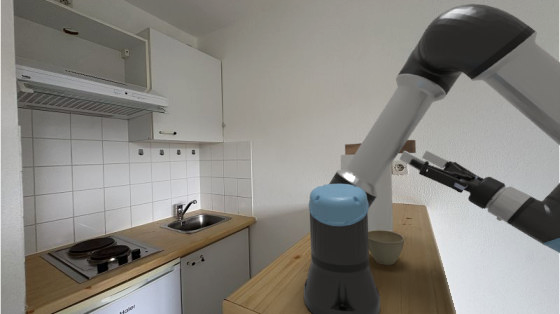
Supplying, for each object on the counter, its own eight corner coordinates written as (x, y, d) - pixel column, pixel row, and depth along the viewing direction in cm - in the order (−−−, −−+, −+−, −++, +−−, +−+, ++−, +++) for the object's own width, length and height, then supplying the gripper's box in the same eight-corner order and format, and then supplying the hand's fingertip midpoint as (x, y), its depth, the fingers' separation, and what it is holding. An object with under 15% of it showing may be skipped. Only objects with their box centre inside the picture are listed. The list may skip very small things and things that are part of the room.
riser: (376, 245, 74) (374, 154, 74) (342, 233, 85) (340, 154, 85) (393, 238, 80) (390, 153, 79) (359, 228, 91) (357, 154, 91)
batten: (409, 153, 68) (409, 139, 68) (345, 154, 88) (344, 144, 88) (415, 152, 70) (415, 140, 70) (351, 154, 90) (351, 144, 90)
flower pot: (367, 251, 70) (366, 228, 70) (403, 256, 65) (403, 232, 65) (363, 265, 61) (363, 239, 61) (406, 273, 56) (405, 244, 56)
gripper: (467, 219, 48) (385, 167, 63) (500, 202, 62) (426, 163, 77) (490, 191, 45) (397, 143, 60) (519, 180, 59) (438, 143, 74)
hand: (413, 154), depth 69 cm, fingers open, 13 cm apart
